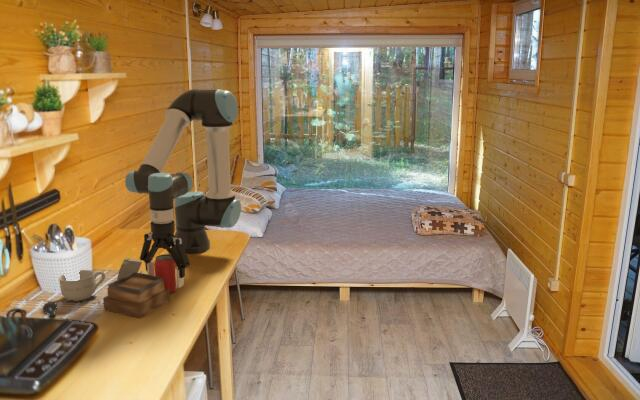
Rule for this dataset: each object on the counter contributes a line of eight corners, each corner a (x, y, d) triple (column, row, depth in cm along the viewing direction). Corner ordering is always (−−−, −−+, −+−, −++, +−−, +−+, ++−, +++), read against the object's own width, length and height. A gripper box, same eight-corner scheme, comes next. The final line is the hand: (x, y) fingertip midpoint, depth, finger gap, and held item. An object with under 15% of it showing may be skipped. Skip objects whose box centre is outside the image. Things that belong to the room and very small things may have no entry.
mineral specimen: (143, 282, 193) (142, 260, 191) (117, 286, 190) (116, 264, 188) (141, 275, 200) (140, 254, 198) (116, 278, 196) (114, 257, 194)
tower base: (135, 293, 184) (133, 270, 182) (169, 300, 179) (168, 276, 177) (104, 309, 172) (102, 285, 170) (140, 318, 166) (138, 293, 164)
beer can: (165, 296, 182) (163, 261, 179) (151, 291, 186) (149, 257, 183) (180, 289, 188) (178, 256, 185) (166, 285, 191) (164, 252, 188)
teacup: (62, 307, 173) (59, 283, 171) (60, 294, 182) (57, 271, 180) (109, 299, 179) (107, 276, 177) (104, 287, 189) (103, 265, 187)
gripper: (125, 219, 182) (130, 281, 187) (185, 228, 173) (188, 293, 178) (141, 213, 188) (144, 274, 194) (199, 222, 180) (201, 285, 185)
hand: (165, 283), depth 186 cm, fingers open, 11 cm apart
